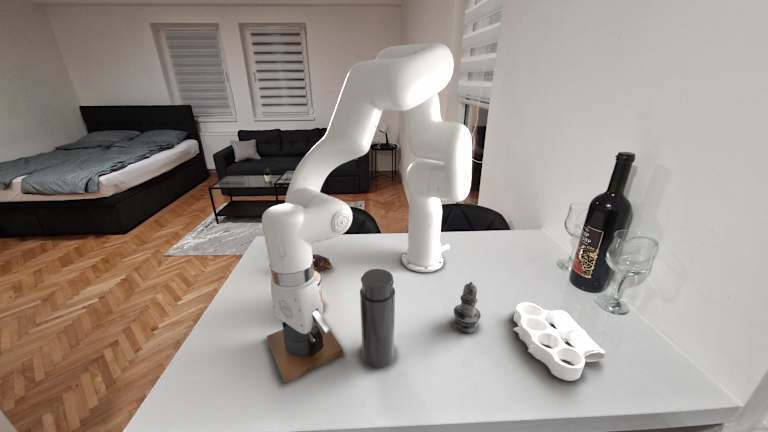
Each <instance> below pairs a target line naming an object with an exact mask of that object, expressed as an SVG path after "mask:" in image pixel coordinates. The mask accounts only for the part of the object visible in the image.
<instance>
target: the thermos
mask: <svg viewBox="0 0 768 432" xmlns="http://www.w3.org/2000/svg"><path fill="white" fill-rule="evenodd" d="M360 283H361V288H360V290H359V303H360V304H359V305H360V327H361V329H360V330H361V349H362V360H363V362H364V363H365V364H366V365H367V366H369V367H370V368H373V369H383V368H385V367H388V366H389V365H390V364H392V362H393V360H394V358H395V318H396V317H395V315H396V314H395V313H396V312H395V310H396V307H395V306H396V290H395V287H394V277H393V274H392V272H390V271H389V270H387V269H383V268H373V269H368V270H367V271H365V272H364V273H363V274H362V275H361V277H360Z"/></svg>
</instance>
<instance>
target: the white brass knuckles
mask: <svg viewBox="0 0 768 432" xmlns="http://www.w3.org/2000/svg"><path fill="white" fill-rule="evenodd" d="M513 321H514V322H515V323H516V324H517V327H514V328H512V331H514V332H516V333H518V337H519V339H520V340H521V341H522V342H524V344H525V345H526V347H527V353H530V354H531V355H532V356H533V357H534V358H535V359H536V360H539V361H540V362H541V363H543V364H544V365H545V366H547V368H548V369H549V371H550V373H551V374H552V375H553V376H555V377H556V378H558V379H560V380H562V381H568V382H571V381H573V382H574V381H577V380H578V379H580V377H581V375H582V373H583V371H584V367H585V364H586V363H593V362H598V361H601V360H603V359H604V358H605V357H606V355H607V353H606V351H605V350H604V349H603V348H600V346H599V345H598V344H597V343H596V342H595V341H594V340H593V339H592V338H591V337H590V336H589V335H588V334H587V332H586V330H585V329H583V328H582V327H581V326H580V325H578V323H577V322H576V321H575V320H574V319H573V317H571V316H570V314H569V313H568V312H567V311H564V310H547V309H544V308H542V307H541V306H539V305H537V304H535V303H532V302H521V303H519V304H517V305H516V308H515V312H514V316H513ZM551 325H553V326H554V327H555V328H554V327H552V326H551ZM566 343H569V344H570V345H571V346H569V345H568V344H566ZM544 345H546V346H548V347H546V346H544ZM549 347H550V348H549ZM562 360H563V361H567V362H569V363H570V364H572V365H570V364H567V363H565V362H563V361H562Z"/></svg>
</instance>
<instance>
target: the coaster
mask: <svg viewBox="0 0 768 432" xmlns="http://www.w3.org/2000/svg"><path fill="white" fill-rule="evenodd" d="M266 339H267V342H268V345H269V347H270V350H271V352H272V353H271V354H272V355H273V358H274V361H275V363H276V365H277V368H278V372H279V374H280V376H281V378H282V381H283V383H284V384H286V383H288V382H290V381H292V380H294V379H296V378H299V377H301V376H302V375H304V374H306V373H309V372H310V371H313V370H314V369H316V368H318V367H320V366H322V365H325V364H327V363H328V362H330V361H332V360H334V359H337V358H339V357H340V356H342V355H344V351H343V347H342V346H341V344H340V343H339V340H337V338H336V336H335V335H334V334H333V332H332V329H331V330H330V331H329V332H328V333H327V334H326V335H324V336H323V345H324V346H323V348H322V349H321V350H320V351H319V352H317V353H316V354H315V355H314V356H310V354H308V355H304V356H295V355H292V354H290V353H289V352H288V351H287V350H286V347H285V342H284V336H283V328H282V329H280V330H278V331H275V332H272V333H270V334H268V335H266Z"/></svg>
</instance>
